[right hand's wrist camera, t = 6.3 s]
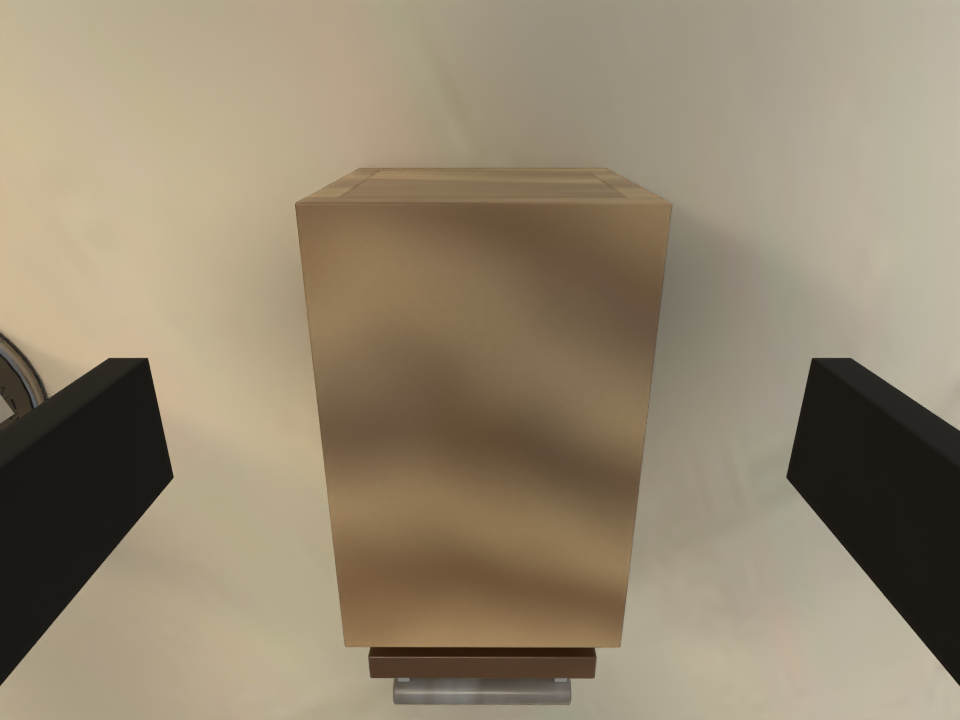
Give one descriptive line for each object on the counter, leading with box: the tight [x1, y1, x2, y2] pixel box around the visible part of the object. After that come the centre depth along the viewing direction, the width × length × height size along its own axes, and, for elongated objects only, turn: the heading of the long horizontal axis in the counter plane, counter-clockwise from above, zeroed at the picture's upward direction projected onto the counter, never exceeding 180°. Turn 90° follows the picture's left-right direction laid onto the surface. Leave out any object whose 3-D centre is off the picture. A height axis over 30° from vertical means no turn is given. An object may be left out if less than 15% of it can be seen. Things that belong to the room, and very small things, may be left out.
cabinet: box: [295, 168, 672, 647], centre depth 24 cm, size 16×10×10 cm, turn 0°
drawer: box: [368, 647, 597, 705], centre depth 27 cm, size 21×9×7 cm, turn 0°
